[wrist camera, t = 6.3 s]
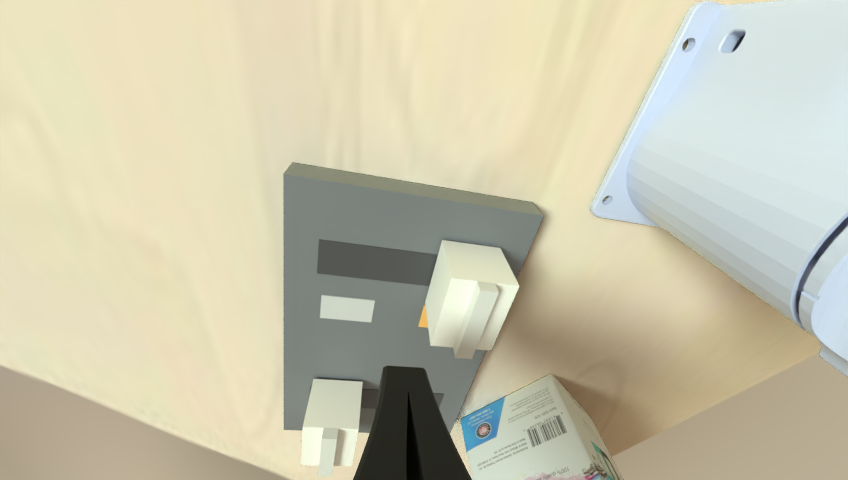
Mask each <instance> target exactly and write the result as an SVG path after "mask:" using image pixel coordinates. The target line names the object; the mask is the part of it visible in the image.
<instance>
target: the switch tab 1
mask: <svg viewBox="0 0 848 480" xmlns="http://www.w3.org/2000/svg"><path fill="white" fill-rule="evenodd" d="M362 384H363V382H359V381H342V380H326V379H313V383H312V388H311V392H310V397H309V401H308V405H307V410H306V414H305V419H304V423H303V430H302V451H301V465H319V470H318V476H320V477H332V472H333V466H352V461H353V456H354V451H355V446H356V440H357V435H358V430H359V419H360V407H361V395H362Z"/></svg>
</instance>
